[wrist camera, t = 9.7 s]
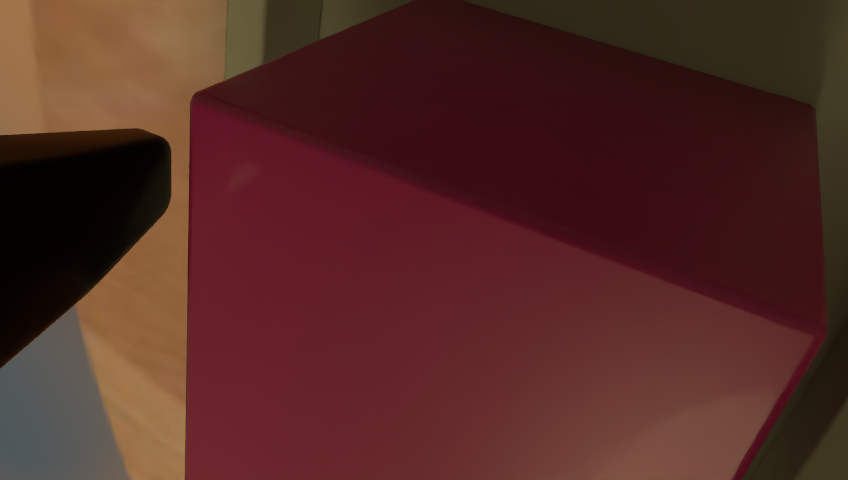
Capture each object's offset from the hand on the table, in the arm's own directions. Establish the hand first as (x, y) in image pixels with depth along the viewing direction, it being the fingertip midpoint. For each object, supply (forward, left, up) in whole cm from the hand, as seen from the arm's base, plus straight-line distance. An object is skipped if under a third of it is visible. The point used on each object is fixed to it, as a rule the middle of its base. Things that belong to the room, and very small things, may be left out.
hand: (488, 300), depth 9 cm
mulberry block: (0, 0, -3) cm, 3 cm away
